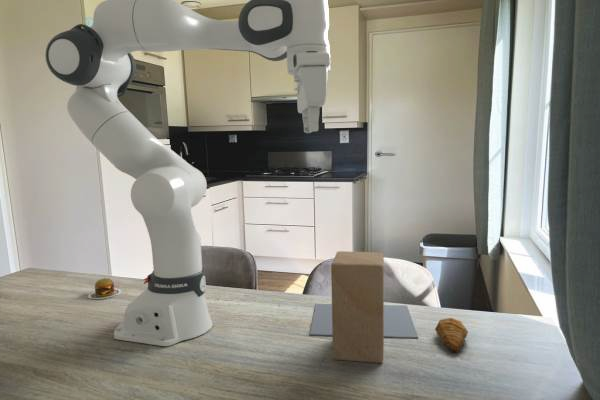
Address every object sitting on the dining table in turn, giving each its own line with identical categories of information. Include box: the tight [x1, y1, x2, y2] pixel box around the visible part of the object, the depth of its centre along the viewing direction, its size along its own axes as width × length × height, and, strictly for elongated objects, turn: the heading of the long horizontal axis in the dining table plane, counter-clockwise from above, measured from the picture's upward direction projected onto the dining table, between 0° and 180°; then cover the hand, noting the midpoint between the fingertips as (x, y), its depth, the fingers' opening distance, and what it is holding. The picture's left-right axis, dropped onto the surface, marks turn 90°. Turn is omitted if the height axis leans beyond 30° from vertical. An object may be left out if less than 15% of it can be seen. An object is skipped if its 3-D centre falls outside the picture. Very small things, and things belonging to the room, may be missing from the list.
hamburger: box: [87, 277, 121, 300], centre depth 124 cm, size 12×12×6 cm
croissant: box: [434, 317, 468, 354], centre depth 90 cm, size 14×7×5 cm, turn 165°
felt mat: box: [309, 303, 419, 339], centre depth 102 cm, size 24×18×1 cm
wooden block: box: [330, 250, 385, 364], centre depth 86 cm, size 10×10×20 cm
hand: (310, 132), depth 87 cm, fingers open, 8 cm apart
